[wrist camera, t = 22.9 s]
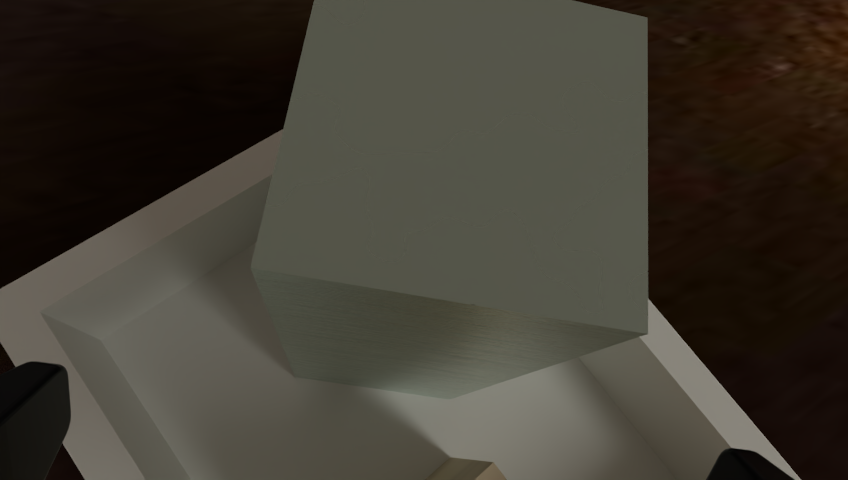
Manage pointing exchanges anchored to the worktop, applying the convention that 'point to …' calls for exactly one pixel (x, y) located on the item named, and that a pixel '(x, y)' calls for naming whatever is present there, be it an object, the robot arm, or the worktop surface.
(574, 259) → the sage tin
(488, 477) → the oak block
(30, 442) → the robot arm
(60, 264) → the white tote
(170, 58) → the worktop surface
